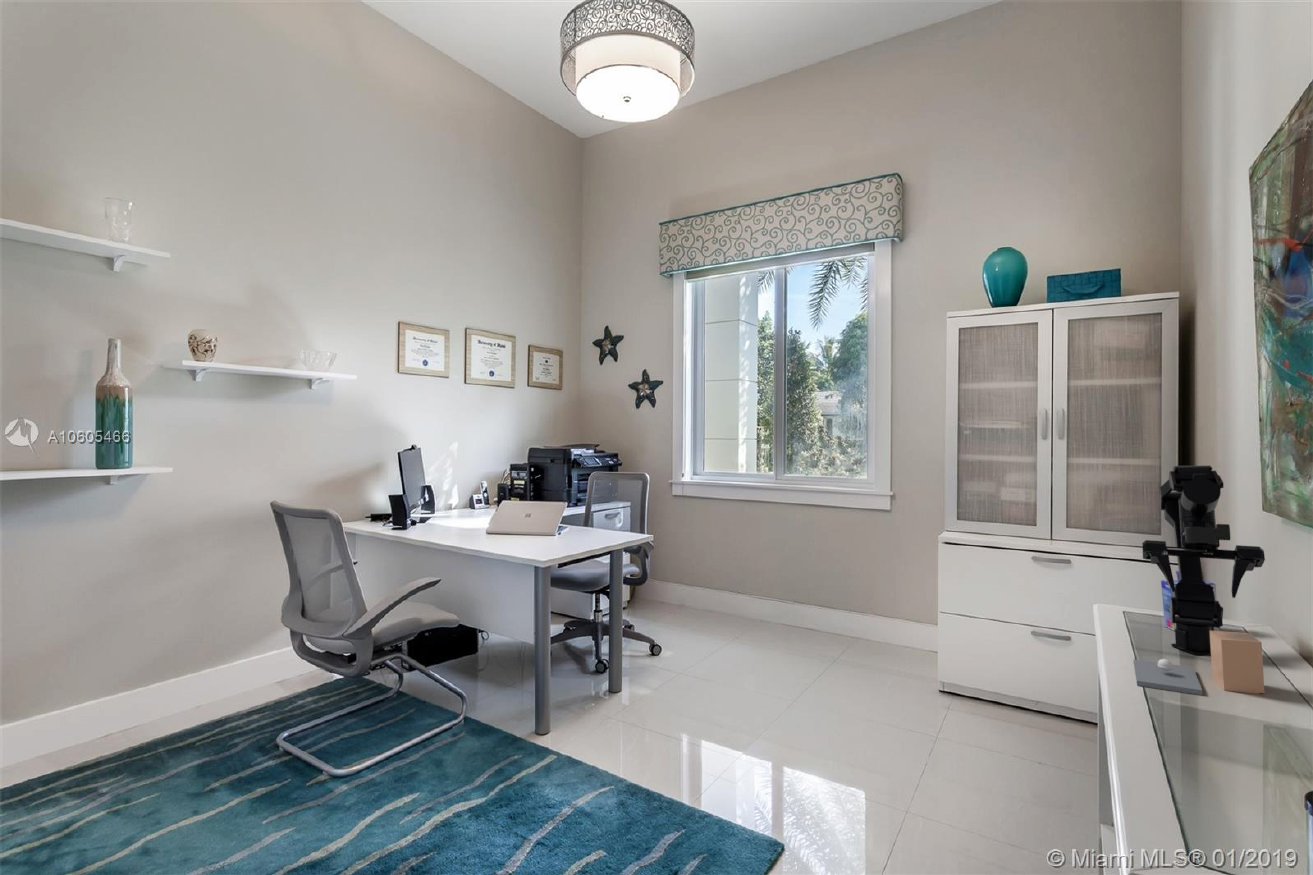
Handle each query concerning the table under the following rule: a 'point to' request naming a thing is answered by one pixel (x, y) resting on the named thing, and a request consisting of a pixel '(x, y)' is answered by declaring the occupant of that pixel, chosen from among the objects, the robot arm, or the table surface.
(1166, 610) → the ink cartridge box
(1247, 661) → the cover box
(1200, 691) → the post board
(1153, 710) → the table surface
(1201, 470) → the robot arm
